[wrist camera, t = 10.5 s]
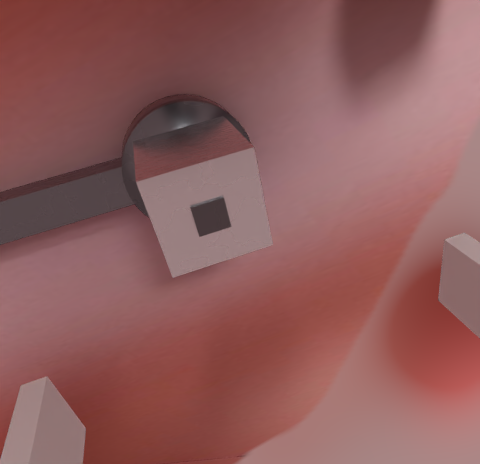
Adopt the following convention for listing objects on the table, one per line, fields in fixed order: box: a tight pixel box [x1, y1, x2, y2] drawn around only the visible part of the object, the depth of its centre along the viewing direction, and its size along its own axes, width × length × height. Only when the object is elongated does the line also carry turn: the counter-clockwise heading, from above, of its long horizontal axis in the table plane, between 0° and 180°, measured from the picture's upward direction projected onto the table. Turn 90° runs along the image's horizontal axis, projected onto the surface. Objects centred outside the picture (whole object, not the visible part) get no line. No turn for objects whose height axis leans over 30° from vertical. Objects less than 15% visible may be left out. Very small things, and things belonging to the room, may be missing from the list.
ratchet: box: [0, 94, 251, 245], centre depth 24 cm, size 24×9×7 cm, turn 102°
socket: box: [133, 116, 273, 278], centre depth 23 cm, size 6×6×7 cm
